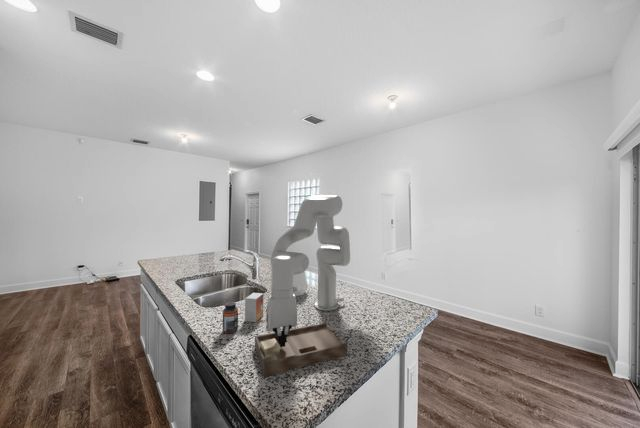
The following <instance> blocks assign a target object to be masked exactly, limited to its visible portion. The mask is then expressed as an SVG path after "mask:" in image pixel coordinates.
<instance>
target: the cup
mask: <svg viewBox="0 0 640 428" xmlns="http://www.w3.org/2000/svg"><path fill="white" fill-rule="evenodd" d="M293 287H297V291H295V292H294V295H295V297H298V296H303V295H305V293H306V291H307V289H308V288H309V286H308V281H307V277H306V271H304V272H303V273H300V274H295V275H293Z"/></svg>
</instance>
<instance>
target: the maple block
mask: <svg viewBox="0 0 640 428" xmlns="http://www.w3.org/2000/svg"><path fill="white" fill-rule="evenodd" d="M261 349H262V351H263V354H264V357H265V358H268V357H272V356H275V355H278V354H280V345H279V343H278V342H277V341H276V339H275V338H274V339H270V340H266V341H262V342H261Z"/></svg>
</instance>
